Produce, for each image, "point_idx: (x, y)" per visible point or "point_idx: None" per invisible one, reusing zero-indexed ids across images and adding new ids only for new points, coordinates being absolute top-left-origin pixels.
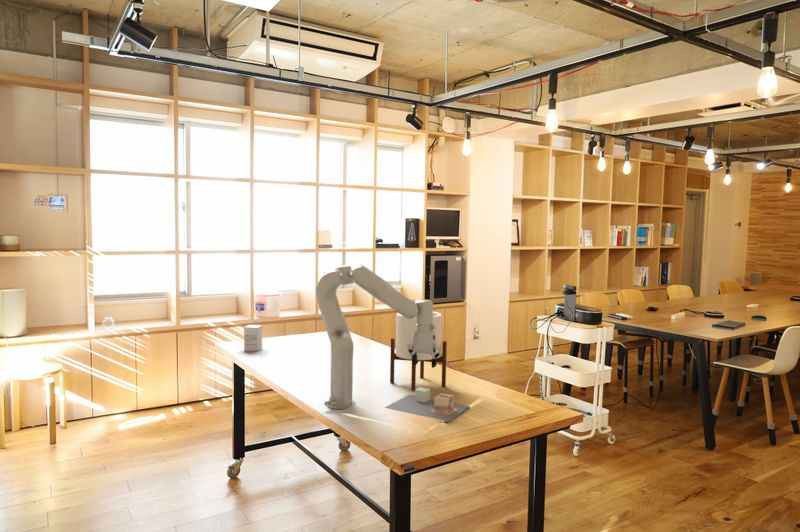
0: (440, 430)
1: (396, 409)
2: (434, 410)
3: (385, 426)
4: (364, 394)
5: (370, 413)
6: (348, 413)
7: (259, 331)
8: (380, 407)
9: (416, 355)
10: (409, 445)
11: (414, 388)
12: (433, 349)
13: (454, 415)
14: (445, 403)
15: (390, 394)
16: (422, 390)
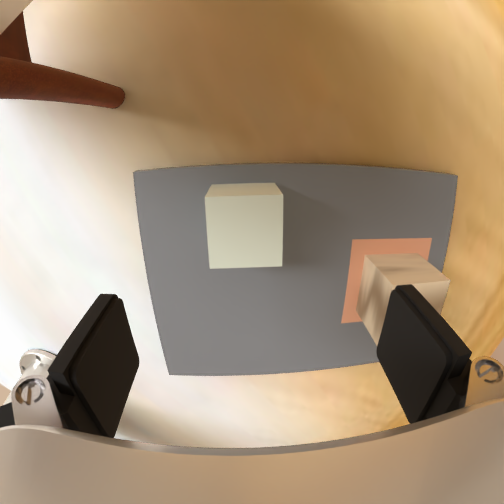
0: None
1: (218, 371)
2: (356, 310)
3: (262, 439)
4: (8, 266)
5: (162, 403)
6: (121, 419)
7: None
8: (142, 356)
9: (82, 389)
10: None
11: (114, 98)
12: (501, 468)
13: None
14: None
15: (57, 202)
16: (256, 258)
